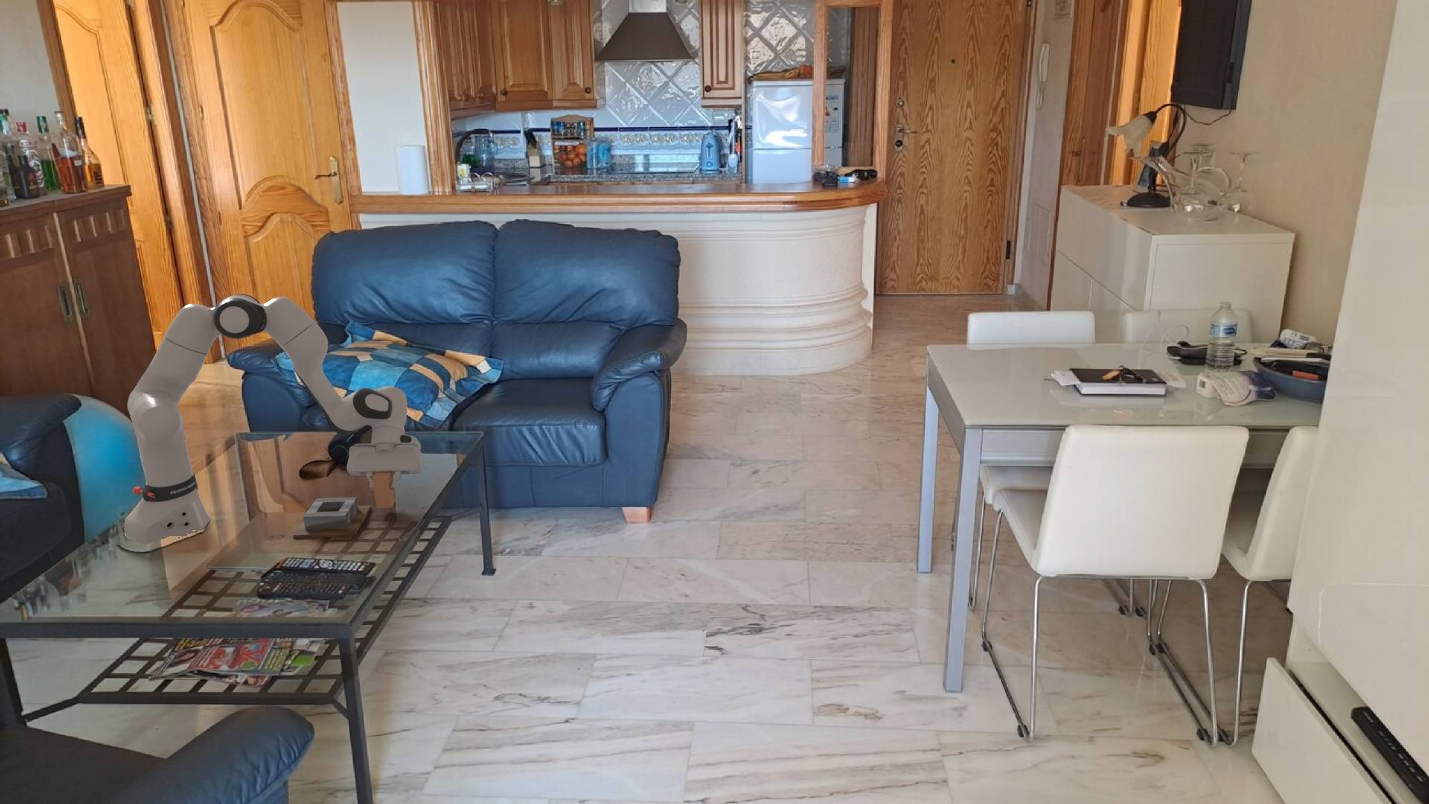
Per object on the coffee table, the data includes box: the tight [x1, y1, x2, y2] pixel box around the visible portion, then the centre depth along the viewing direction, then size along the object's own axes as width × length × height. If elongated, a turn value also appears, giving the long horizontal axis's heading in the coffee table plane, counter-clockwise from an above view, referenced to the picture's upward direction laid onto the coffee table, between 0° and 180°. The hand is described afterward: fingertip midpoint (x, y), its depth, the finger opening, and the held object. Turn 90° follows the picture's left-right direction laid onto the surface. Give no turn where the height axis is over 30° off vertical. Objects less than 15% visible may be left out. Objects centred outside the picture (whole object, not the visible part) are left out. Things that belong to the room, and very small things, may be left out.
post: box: [371, 472, 396, 509], centre depth 269 cm, size 4×4×9 cm
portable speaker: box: [327, 425, 373, 464], centre depth 311 cm, size 25×10×10 cm, turn 171°
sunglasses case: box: [298, 445, 339, 479], centre depth 301 cm, size 18×7×7 cm
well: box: [292, 496, 372, 539], centre depth 265 cm, size 16×16×5 cm
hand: (382, 488), depth 268 cm, fingers closed on post, 4 cm apart
